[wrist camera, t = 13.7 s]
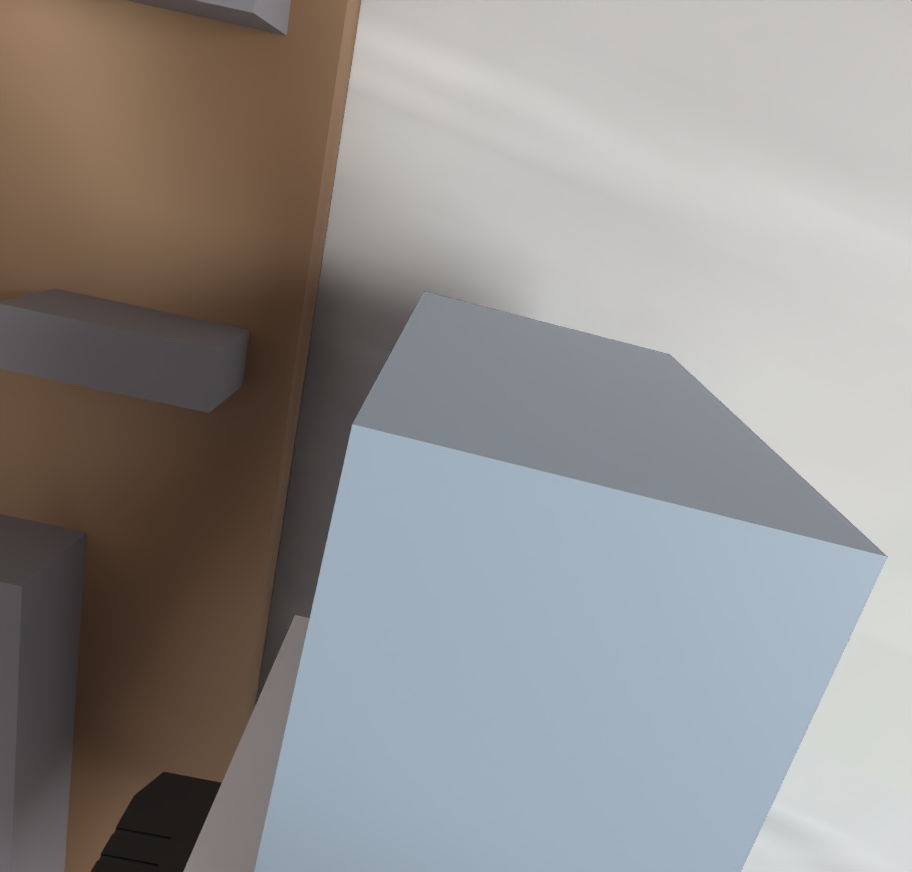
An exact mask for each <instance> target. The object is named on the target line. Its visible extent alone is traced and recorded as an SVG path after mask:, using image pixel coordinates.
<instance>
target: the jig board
mask: <svg viewBox="0 0 912 872" xmlns="http://www.w3.org/2000/svg"><path fill="white" fill-rule="evenodd" d="M360 4H361V0H291V4H290V12H289V20H288V28H287V35H282V34H278V33H273V32H269V31H264V30H259V29H255V28H250V27H246V26H241V25H236V24H232V23H227V22H223V21H218V20H214V19H209V18H204V17H200V16H195V15H191V14H186V13H181V12H177V11H172V10H168V9H163V8H159V7H154V6H149V5H145V4H140V3H136V2H131V1H126V0H0V302H1V301H5V300H9V299H13V298H18V297H22V296H26V295H30V294H35V293H39V292H43V291H47V290H51V289H60V290H65V291H70V292H74V293H79V294H84V295H88V296H93V297H98V298H102V299H107V300H112V301H116V302H121V303H126V304H130V305H135V306H140V307H144V308H149V309H154V310H158V311H163V312H168V313H172V314H177V315H182V316H186V317H191V318H196V319H200V320H205V321H210V322H214V323H219V324H223V325H228V326H233V327H237V328H242V329H247V330H250V332H249V340H248V348H247V356H246V364H245V372H244V380H243V386H242V387H241V388H240V389H239V390H237V391H236V392H235V393H234V394H232V395H231V396H230V397H228V398H227V399H226V400H225V401H223V402H222V403H221V404H219V405H218V406H217V407H216V408H214V409H213V410H212V411H211V412H209V413H206V412H202V411H197V410H192V409H188V408H183V407H178V406H174V405H169V404H164V403H160V402H155V401H150V400H145V399H141V398H136V397H131V396H127V395H122V394H117V393H113V392H108V391H103V390H99V389H94V388H89V387H85V386H80V385H75V384H71V383H66V382H61V381H57V380H52V379H47V378H43V377H38V376H33V375H28V374H24V373H19V372H14V371H10V370H5V369H0V514H3V515H8V516H12V517H17V518H22V519H26V520H31V521H36V522H41V523H45V524H50V525H55V526H59V527H64V528H69V529H74V530H78V531H83V532H87V534H86V549H85V565H84V580H83V595H82V610H81V626H80V641H79V656H78V672H77V687H76V702H75V718H74V733H73V748H72V764H71V779H70V794H69V810H68V825H67V840H66V856H65V870H64V872H91V870H92V868H93V867H94V865H95V863H96V861H97V860H99V859H100V856H101V853H102V851H103V849H104V847H105V846H106V844H107V842H108V840H109V838H110V837H111V835H112V833H113V834H114V832H115V829H116V826H117V824H118V823H119V821H120V819H121V817H122V816H123V814H124V812H125V810H126V809H127V807H128V805H129V803H130V802H131V800H132V798H133V796H134V795H135V794H137V793H138V792H139V791H140V790H141V789H143V788H144V787H145V786H146V785H148V784H149V783H150V782H151V781H153V780H154V779H155V778H156V777H157V776H159V775H160V774H161V773H162V772H169V773H174V774H179V775H184V776H190V777H195V778H200V779H205V780H211V781H216V782H221V783H222V782H223V779H224V777H225V775H226V772H227V770H228V768H229V765H230V763H231V761H232V758H233V756H234V754H235V752H236V749H237V747H238V745H239V742H240V740H241V738H242V735H243V733H244V731H245V729H246V726H247V724H248V722H249V719H250V717H251V715H252V712H253V710H254V708H255V704H256V698H257V691H258V684H259V678H260V671H261V664H262V658H263V651H264V644H265V638H266V631H267V624H268V618H269V611H270V604H271V598H272V591H273V584H274V578H275V571H276V564H277V558H278V551H279V544H280V538H281V531H282V524H283V518H284V511H285V504H286V498H287V491H288V484H289V478H290V471H291V464H292V458H293V451H294V444H295V438H296V431H297V424H298V418H299V411H300V404H301V398H302V391H303V384H304V378H305V371H306V364H307V358H308V351H309V344H310V338H311V331H312V324H313V318H314V311H315V304H316V298H317V291H318V284H319V278H320V271H321V264H322V258H323V251H324V244H325V238H326V231H327V224H328V218H329V211H330V204H331V198H332V191H333V184H334V178H335V171H336V164H337V158H338V151H339V144H340V138H341V131H342V124H343V118H344V111H345V104H346V98H347V91H348V84H349V78H350V71H351V64H352V58H353V51H354V44H355V38H356V31H357V24H358V18H359V11H360Z"/></svg>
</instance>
